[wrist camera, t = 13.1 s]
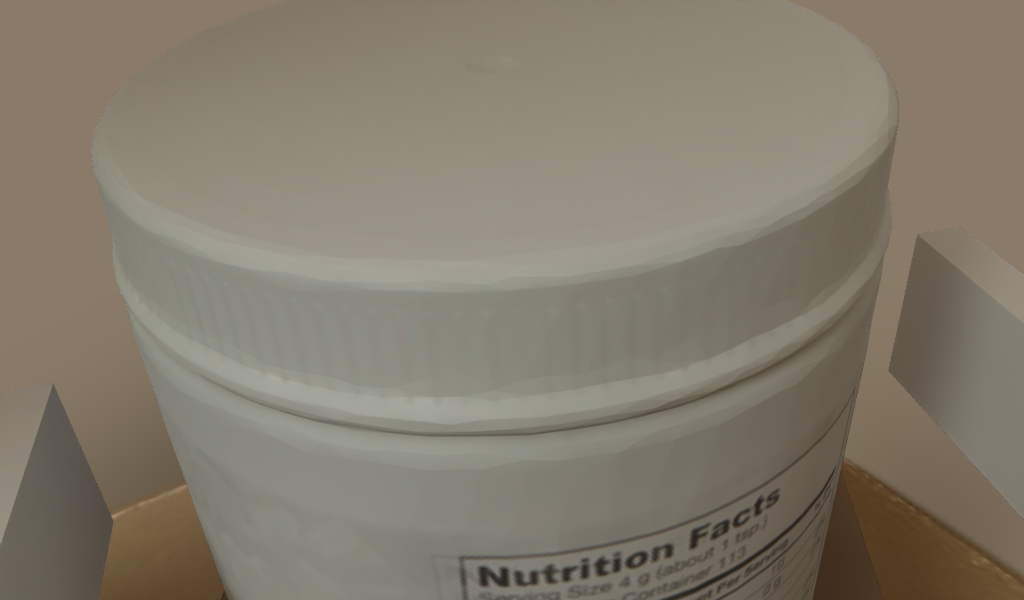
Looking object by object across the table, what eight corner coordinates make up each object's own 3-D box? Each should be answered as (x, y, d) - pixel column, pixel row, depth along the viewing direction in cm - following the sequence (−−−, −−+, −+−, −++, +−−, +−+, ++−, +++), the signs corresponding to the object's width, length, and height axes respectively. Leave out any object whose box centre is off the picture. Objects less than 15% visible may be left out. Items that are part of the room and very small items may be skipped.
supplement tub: (252, 672, 21) (24, 37, 13) (600, 507, 25) (594, -73, 16) (428, 1164, 14) (163, 431, 6) (884, 831, 17) (1126, 83, 9)
